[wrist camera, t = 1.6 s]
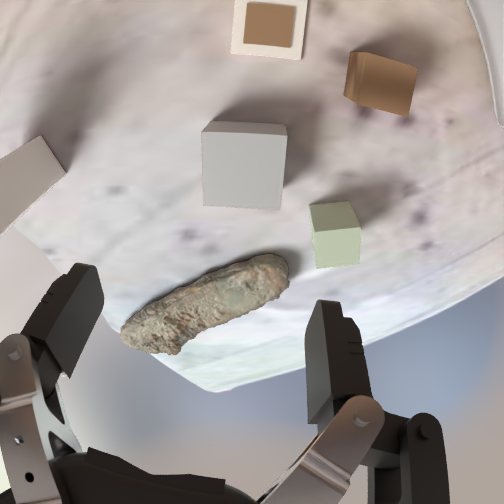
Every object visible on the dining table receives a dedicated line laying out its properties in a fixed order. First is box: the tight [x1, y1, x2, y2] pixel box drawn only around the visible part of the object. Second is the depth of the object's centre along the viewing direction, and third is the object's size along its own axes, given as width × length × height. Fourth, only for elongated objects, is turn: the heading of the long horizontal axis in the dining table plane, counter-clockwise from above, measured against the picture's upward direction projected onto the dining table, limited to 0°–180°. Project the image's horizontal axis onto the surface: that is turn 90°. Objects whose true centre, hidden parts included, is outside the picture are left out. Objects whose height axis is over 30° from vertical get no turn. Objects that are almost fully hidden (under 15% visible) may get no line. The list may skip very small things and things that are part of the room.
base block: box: [201, 121, 287, 210], centre depth 31 cm, size 8×8×5 cm
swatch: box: [230, 0, 308, 61], centre depth 23 cm, size 7×7×1 cm
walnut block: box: [344, 52, 418, 117], centre depth 24 cm, size 5×5×6 cm
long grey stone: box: [120, 253, 290, 355], centre depth 47 cm, size 35×5×10 cm
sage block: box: [309, 201, 361, 269], centre depth 35 cm, size 5×5×6 cm
